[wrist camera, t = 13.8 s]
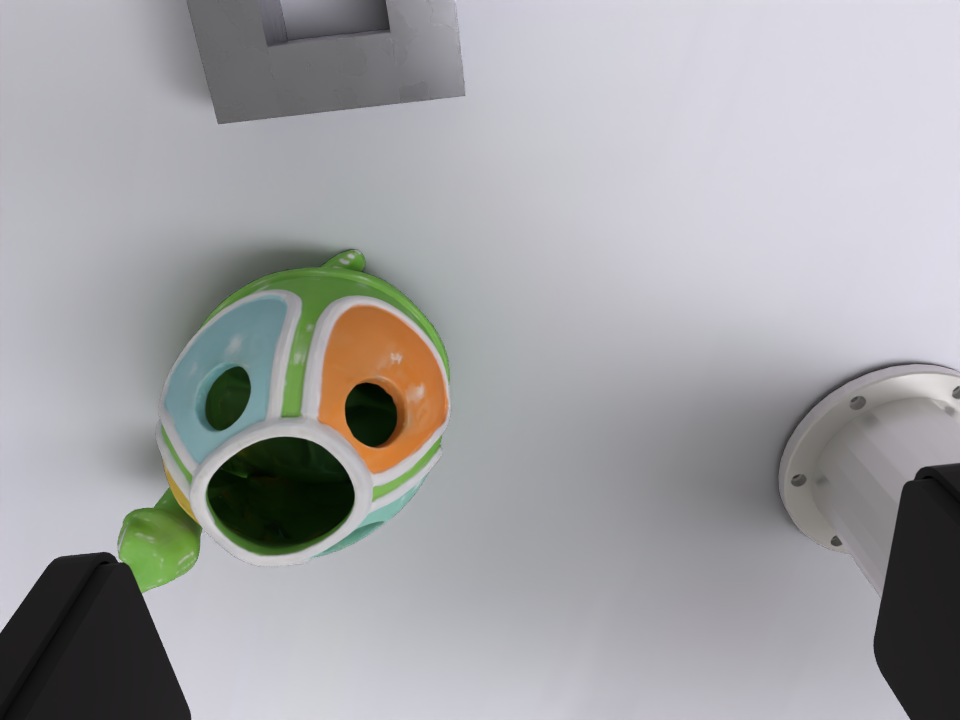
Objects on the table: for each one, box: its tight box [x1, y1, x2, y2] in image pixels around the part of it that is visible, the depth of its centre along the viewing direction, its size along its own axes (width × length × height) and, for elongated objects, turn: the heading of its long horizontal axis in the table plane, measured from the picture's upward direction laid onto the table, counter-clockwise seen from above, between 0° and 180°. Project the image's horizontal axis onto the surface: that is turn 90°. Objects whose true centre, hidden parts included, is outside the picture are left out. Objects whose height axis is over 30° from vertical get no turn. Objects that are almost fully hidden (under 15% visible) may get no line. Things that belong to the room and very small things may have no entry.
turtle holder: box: [118, 250, 451, 593], centre depth 34 cm, size 12×18×12 cm
